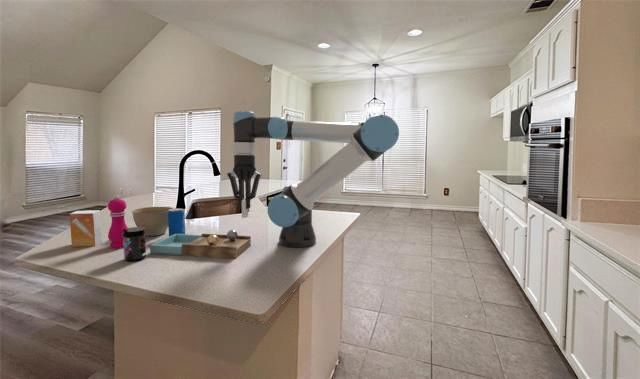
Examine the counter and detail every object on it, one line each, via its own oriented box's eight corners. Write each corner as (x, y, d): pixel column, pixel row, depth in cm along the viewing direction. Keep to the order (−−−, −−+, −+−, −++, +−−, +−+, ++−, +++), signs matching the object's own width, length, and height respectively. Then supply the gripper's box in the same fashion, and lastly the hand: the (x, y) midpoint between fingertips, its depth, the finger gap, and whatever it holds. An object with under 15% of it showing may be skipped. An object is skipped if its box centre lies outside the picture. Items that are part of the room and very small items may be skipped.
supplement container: (129, 256, 115) (127, 227, 114) (149, 255, 116) (147, 226, 115) (120, 262, 109) (118, 232, 107) (142, 261, 110) (140, 231, 108)
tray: (203, 242, 132) (203, 235, 132) (181, 255, 116) (181, 247, 116) (175, 241, 134) (175, 233, 133) (150, 253, 118) (149, 245, 117)
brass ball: (220, 244, 120) (220, 233, 120) (215, 247, 116) (215, 236, 116) (210, 243, 121) (210, 233, 120) (205, 247, 117) (204, 236, 116)
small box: (71, 247, 124) (68, 213, 122) (79, 242, 130) (77, 210, 128) (95, 246, 126) (93, 213, 124) (102, 241, 132) (100, 209, 130)
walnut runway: (250, 245, 129) (250, 236, 128) (235, 258, 114) (235, 247, 113) (202, 243, 131) (202, 233, 131) (182, 255, 117) (181, 244, 116)
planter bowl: (181, 232, 148) (180, 208, 146) (146, 240, 134) (145, 214, 133) (161, 227, 156) (159, 204, 155) (126, 234, 143) (124, 210, 141)
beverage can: (179, 239, 136) (178, 211, 135) (165, 238, 137) (164, 210, 136) (188, 235, 142) (187, 208, 141) (175, 234, 144) (174, 207, 142)
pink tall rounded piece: (134, 245, 128) (131, 194, 125) (116, 250, 121) (113, 196, 119) (122, 242, 131) (119, 193, 128) (104, 247, 124) (100, 195, 122)
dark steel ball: (239, 239, 127) (239, 229, 127) (235, 241, 123) (235, 231, 123) (229, 238, 128) (229, 228, 127) (225, 241, 124) (225, 231, 123)
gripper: (264, 154, 124) (264, 215, 127) (231, 153, 125) (232, 214, 128) (258, 155, 116) (258, 220, 119) (223, 154, 118) (224, 218, 121)
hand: (245, 216), depth 124 cm, fingers closed
